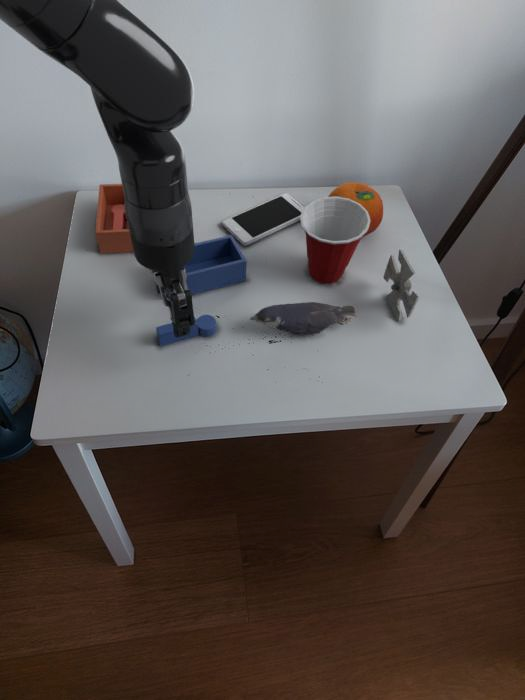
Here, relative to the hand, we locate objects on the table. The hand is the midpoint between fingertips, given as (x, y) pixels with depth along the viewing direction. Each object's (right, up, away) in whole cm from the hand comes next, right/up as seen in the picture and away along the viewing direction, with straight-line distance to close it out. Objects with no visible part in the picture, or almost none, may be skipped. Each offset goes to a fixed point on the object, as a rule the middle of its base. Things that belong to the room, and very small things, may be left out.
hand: (173, 312), depth 73 cm
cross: (+34, +2, +11) cm, 36 cm away
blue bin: (+3, +7, +13) cm, 15 cm away
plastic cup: (+23, +8, +15) cm, 29 cm away
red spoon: (-13, +16, +18) cm, 27 cm away
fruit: (+29, +17, +23) cm, 41 cm away
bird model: (+19, -2, +7) cm, 20 cm away
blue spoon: (+1, -3, +5) cm, 6 cm away
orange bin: (-13, +17, +19) cm, 28 cm away
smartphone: (+13, +19, +22) cm, 32 cm away
